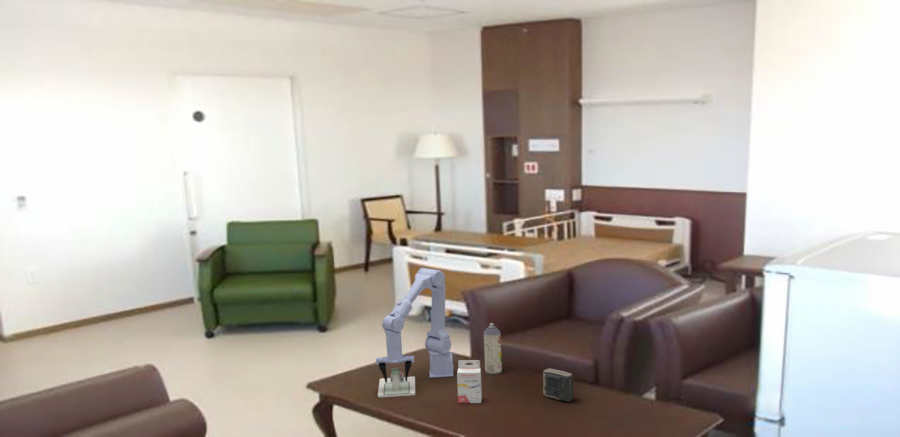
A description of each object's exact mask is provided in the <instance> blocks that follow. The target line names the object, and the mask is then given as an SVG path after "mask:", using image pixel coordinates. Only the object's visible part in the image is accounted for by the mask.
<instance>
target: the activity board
mask: <svg viewBox="0 0 900 437" xmlns="http://www.w3.org/2000/svg"><path fill="white" fill-rule="evenodd" d="M400 387H401V389H400V390H398V391H394V390H393V385H392V373H390V377H387V383H385V379H384V377H383V378H379V383H378V392H377V398H391V397H394V398H395V397H407V396H409V397H410V396H416V377H415V376H408V377H407V381H405V376H404V372H401V377H400Z"/></svg>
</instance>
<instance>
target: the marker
mask: <svg viewBox="0 0 900 437" xmlns="http://www.w3.org/2000/svg"><path fill="white" fill-rule="evenodd" d="M390 371H391V373H390V374H392V385H393V390H394V391H398V390H400V389H401V387H400V372H401V368H400V367H393V368H391V369H390Z"/></svg>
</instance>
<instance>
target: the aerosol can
mask: <svg viewBox="0 0 900 437" xmlns="http://www.w3.org/2000/svg"><path fill="white" fill-rule="evenodd" d="M501 338H502V337H501V330H500V329H498V328H497V327H496V325H494V323H493V322H491V323H489V326H488V327H486V329H484V331H483V348H484V349H483V350H484V351H483V352H484V370H485V371H484V372H485V374H487V375H499V374H502V372H503V366H502V365H503V363H502V339H501Z"/></svg>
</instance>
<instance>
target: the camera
mask: <svg viewBox="0 0 900 437" xmlns="http://www.w3.org/2000/svg"><path fill="white" fill-rule="evenodd" d="M542 380H543V381H542V383H543V384H542V385H543V386H542V387H543V388H542V394H543V396H544V397H546V398H551V399H554V400H559V401H562V402H567V403H569V402H572V401H574V376H573V374H572V373H571V372H567V371H564V370H559V369H555V368H550V367H549V368H547V369H544V370H543V371H542Z"/></svg>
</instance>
